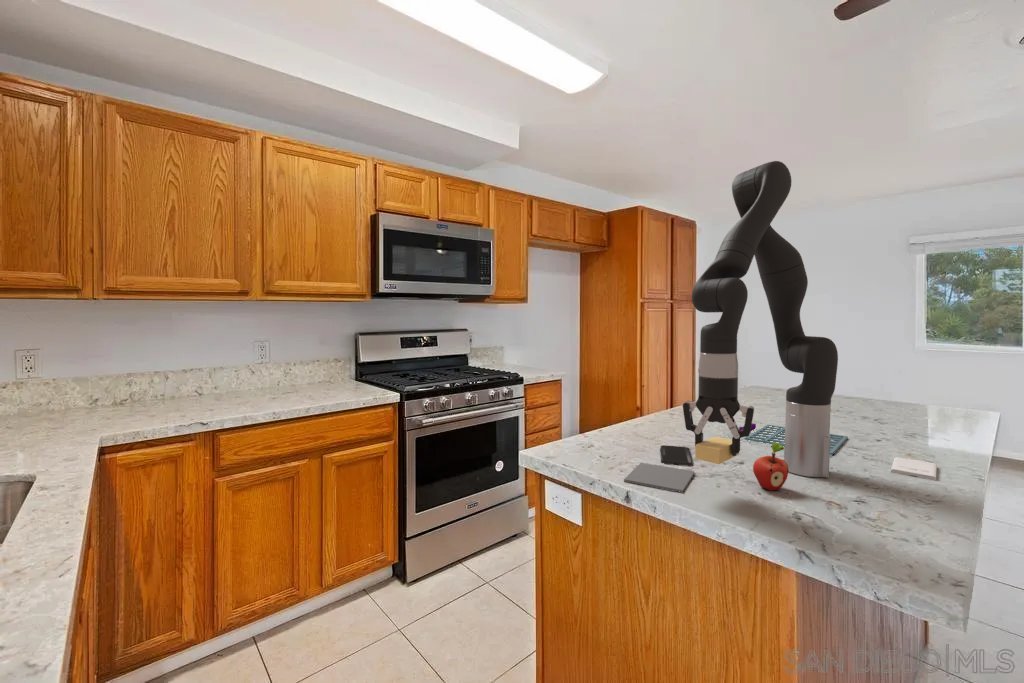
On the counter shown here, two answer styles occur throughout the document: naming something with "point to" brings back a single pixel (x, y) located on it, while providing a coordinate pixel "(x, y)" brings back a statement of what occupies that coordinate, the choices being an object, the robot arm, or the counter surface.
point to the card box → (714, 450)
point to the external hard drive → (914, 468)
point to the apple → (771, 470)
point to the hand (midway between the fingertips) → (717, 452)
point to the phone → (675, 455)
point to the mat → (660, 477)
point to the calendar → (834, 439)
